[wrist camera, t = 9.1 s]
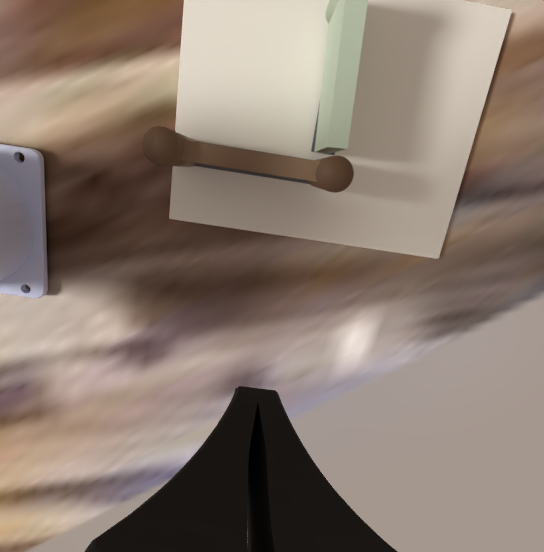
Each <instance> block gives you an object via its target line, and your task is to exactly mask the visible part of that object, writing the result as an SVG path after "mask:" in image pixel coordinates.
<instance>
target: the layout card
mask: <svg viewBox="0 0 544 552" xmlns="http://www.w3.org/2000/svg"><path fill="white" fill-rule="evenodd" d="M329 1H330V0H184V9H183V24H182V38H181V53H180V67H179V82H178V96H177V111H176V126H175V132H177V133H180V134H182V135H184V136H187V137H189V138H191V139H193V140H195V141H196V142H202V143H208V144H214V145H220V146H226V147H233V148H239V149H245V150H251V151H257V152H264V153H270V154H276V155H282V156H288V157H294V158H301V159H307V160H313V161H314V160H317V159H321V158H326V157H330V156H335V155H339V156H343V157H345V158H347V159H348V160H349V161H350V163H351V164H352V166H353V170H354V176H353V180H352V182H351V184H350V185H349V186H348V188H346V189H345V190H343V191H341V192H337V193H333V192H329V191H326V190H323V189H320V188H317V187H314V186H312V185H310V184H309V182H308V181H307V180H302V179H296V178H289V177H283V176H277V175H270V174H264V173H258V172H251V171H245V170H239V169H232V168H226V167H220V166H213V165H207V164H201V163H197V164H196V165H194V166H192V167H181V166H173V169H172V184H171V198H170V213H169V219H174V220H180V221H187V222H194V223H200V224H207V225H214V226H221V227H227V228H234V229H241V230H248V231H254V232H261V233H268V234H274V235H281V236H288V237H295V238H301V239H308V240H315V241H321V242H328V243H335V244H342V245H348V246H355V247H362V248H369V249H375V250H382V251H389V252H395V253H402V254H409V255H416V256H422V257H429V258H436V259H439V256H440V253H441V249H442V246H443V242H444V239H445V236H446V232H447V229H448V225H449V222H450V219H451V215H452V212H453V209H454V205H455V202H456V198H457V195H458V192H459V188H460V185H461V181H462V178H463V175H464V171H465V168H466V164H467V161H468V158H469V154H470V151H471V148H472V144H473V141H474V137H475V134H476V131H477V127H478V124H479V120H480V117H481V114H482V110H483V107H484V104H485V100H486V97H487V93H488V90H489V87H490V83H491V80H492V76H493V73H494V70H495V66H496V63H497V60H498V56H499V53H500V49H501V46H502V43H503V39H504V36H505V32H506V29H507V26H508V22H509V19H510V15H511V12H512V10H510V9H505V8H500V7H494V6H489V5H484V4H479V3H474V2H468V1H463V0H368V5H367V12H366V19H365V26H364V34H363V41H362V48H361V55H360V62H359V70H358V77H357V84H356V91H355V98H354V106H353V113H352V120H351V127H350V134H349V142H348V149H345V150H341V151H338V152H334V153H330V154H329V153H318V152H314V150H315V141H316V133H317V124H318V115H319V106H320V97H321V89H322V80H323V71H324V62H325V53H326V45H327V36H328V27H329V24H328V22H327V20H326V9H327V6H328V3H329Z"/></svg>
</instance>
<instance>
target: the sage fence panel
mask: <svg viewBox="0 0 544 552" xmlns="http://www.w3.org/2000/svg"><path fill="white" fill-rule="evenodd" d="M367 5H368V0H330V1H329V3H328V6H327V9H326V20H327V22H328V24H329V27H328V36H327V45H326V53H325V62H324V71H323V80H322V89H321V97H320V106H319V115H318V124H317V133H316V141H315V150H314V152H318V153H329V154H330V153H334V152H338V151H341V150H345V149H348V142H349V134H350V127H351V120H352V113H353V106H354V98H355V91H356V84H357V77H358V70H359V62H360V55H361V48H362V41H363V34H364V26H365V19H366V12H367Z"/></svg>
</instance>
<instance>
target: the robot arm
mask: <svg viewBox="0 0 544 552" xmlns="http://www.w3.org/2000/svg"><path fill="white" fill-rule="evenodd" d="M20 153H22V154H23V155H24V157H25V159H24V161H23V162H22V161H21V160H20V158H19V155H20ZM26 285H28V286H29V287H30V289H31V290H30V291H29V290H27V289H26ZM47 291H48V276H47V243H46V211H45V178H44V159H43V156H42V154H41V153H40V152H39V151H38V150H35V149H31V148H25V147H19V146H12V145H6V144H0V293H1V294H9V295H16V296H24V297H31V298H40V297H42V296H44V295H46V293H47ZM247 529H248V547H247ZM85 552H397V551H396V550H395V549H393V548H392V547H391V546H390V545H389V544H387V543H386V542H385V541H384V540H383V539H382V538H381V537H380V536H378V535H377V534H376V533H375V532H374V531H373V530H372V529H371V528H370V527H369V526H368V525H367V524H366V523H365V522H364V521H363V520H362V519H361V518H360V517H359V516H358V515H357V514H356V513H355V512H354V511H353V510H352V509H351V508H350V506H348V505H347V503H346V502H345V501H344V500H343V499H342V498H341V497H340V496H339V494H338V493H337V492H336V491H335V490H334V488H333V487H332V486H331V485H330V483H329V482H328V481H327V480H326V478H325V477H324V476H323V474H322V473H321V472H320V470H319V469H318V467H317V466H316V464H315V463H314V462H313V460H312V459H311V457H310V456H309V454H308V453H307V451H306V449H305V448H304V446H303V444H302V443H301V441H300V439H299V437H298V435H297V434H296V432H295V430H294V428H293V426H292V424H291V422H290V420H289V418H288V416H287V414H286V412H285V410H284V407H283V405H282V403H281V400H280V398H279V395H278V393H277V392H276V391H274V390H266V389H258V388H250V387H242V386H239V387H238V388H236V389H235V393H234V396H233V398H232V400H231V402H230V404H229V406H228V408H227V410H226V412H225V413H224V415H223V416H222V418H221V420H220V421H219V423H218V424H217V426H216V427H215V429H214V430H213V431H212V433H211V434H210V435H209V437H208V438H207V440H206V441H205V442H204V444H203V445H202V446H201V447H200V448H199V450H198V451H197V452H196V453H195V454H194V456H193V457H192V458H191V459H190V460H189V461H188V462H187V463H186V465H185V466H184V467H183V468H182V469H181V470H180V471H179V472H178V473H177V474H176V475H175V476H174V477H173V478H172V479H171V480H170V481H169V482H168V483H166V484H165V485H164V486H163V487H162V488H161V489H160V490H159V491H158V492H156V493H155V494H154V495H153V496H152V497H150V498H149V499H148V500H147V501H146V502H145V503H143V504H142V505H141V506H140V507H138V508H137V509H136V510H135V511H133V512H132V513H131V514H130V515H128V516H127V517H125V518H124V519H123V520H121V521H120V522H118V523H117V524H116V525H114V526H113V527H111V528H110V529H108V530H107V531H106V532H104V533H103V534H101V535H100V536H99V537H97V538H96V539H94V540H93V541H92V542H91V544H90V545H89V546H88V548H87V549H86V550H85Z"/></svg>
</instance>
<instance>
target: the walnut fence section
mask: <svg viewBox="0 0 544 552" xmlns="http://www.w3.org/2000/svg"><path fill="white" fill-rule="evenodd" d="M142 147H143V151H144V154H145V155H146V157H147V158H148V159H149V160H150V161H151V162H152V163H154V164H157V165H162V166H181V167H192V166H194V165H196V164H197V163H201V164H207V165H213V166H220V167H226V168H232V169H239V170H245V171H251V172H258V173H264V174H270V175H277V176H283V177H289V178H296V179H302V180H307V181H308V182H309V184H310V185H312V186H314V187H317V188H320V189H323V190H326V191H329V192H333V193H337V192H341V191H343V190H345V189H346V188H348V186H349V185H350V184H351V182H352V180H353V176H354V170H353V166H352V164H351V163H350V161H349V160H348V159H347V158H345V157H343V156H339V155H335V156H330V157H326V158H321V159H317V160H314V161H313V160H307V159H301V158H294V157H288V156H282V155H276V154H270V153H264V152H257V151H251V150H245V149H239V148H233V147H226V146H220V145H214V144H208V143H202V142H196V141H195V140H193V139H191V138H189V137H187V136H184V135H182V134H180V133H177V132H175V131H173V130H170V129H168V128H165V127H161V126H157V127H153V128H151V129H150V130H148V131H147V132H146V134H145V135H144V138H143V142H142Z"/></svg>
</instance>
